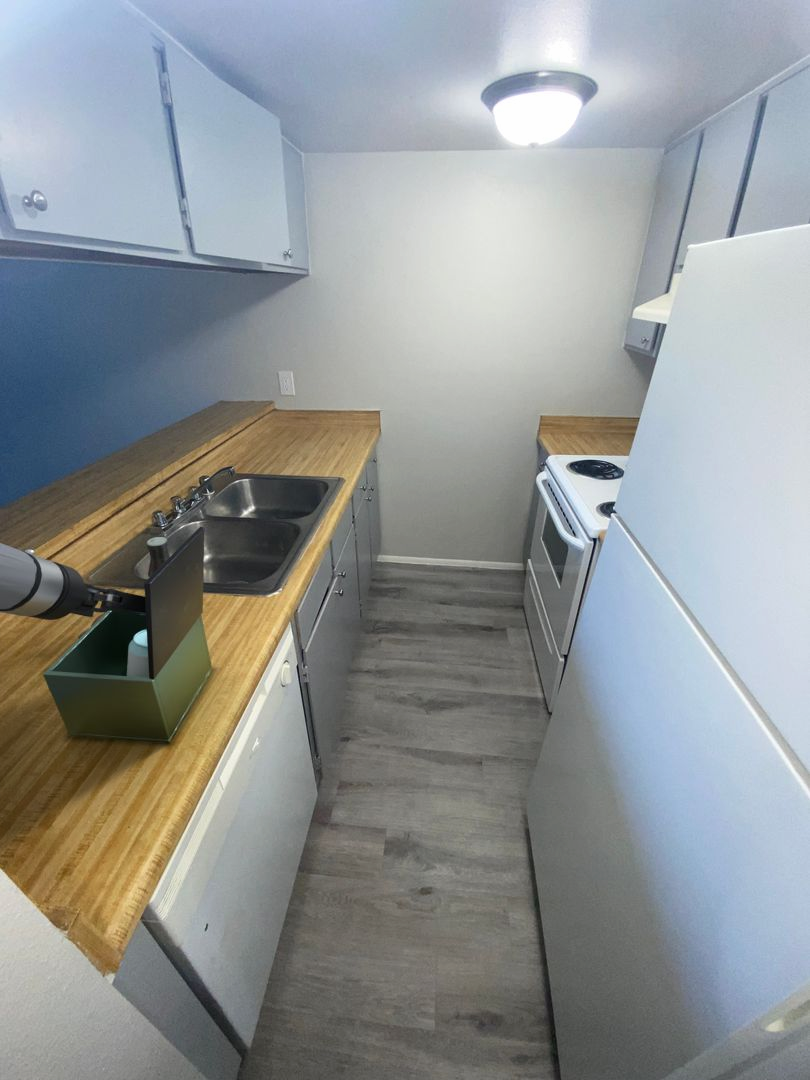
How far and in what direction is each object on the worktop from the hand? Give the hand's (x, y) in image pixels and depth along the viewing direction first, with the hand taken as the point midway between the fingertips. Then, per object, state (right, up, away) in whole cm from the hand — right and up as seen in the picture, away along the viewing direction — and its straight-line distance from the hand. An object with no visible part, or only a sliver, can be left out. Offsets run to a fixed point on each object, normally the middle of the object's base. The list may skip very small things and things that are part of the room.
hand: (130, 611), depth 82 cm
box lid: (+10, +3, -5) cm, 12 cm away
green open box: (-1, -18, +7) cm, 19 cm away
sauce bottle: (-7, -5, +30) cm, 31 cm away
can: (-1, -16, +6) cm, 17 cm away
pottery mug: (-16, -10, +20) cm, 28 cm away
